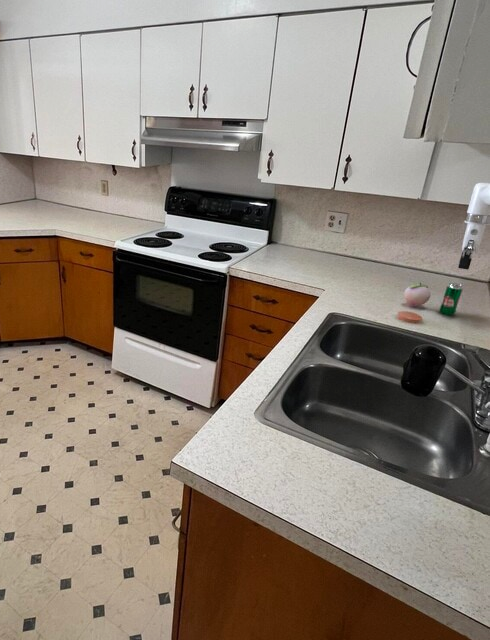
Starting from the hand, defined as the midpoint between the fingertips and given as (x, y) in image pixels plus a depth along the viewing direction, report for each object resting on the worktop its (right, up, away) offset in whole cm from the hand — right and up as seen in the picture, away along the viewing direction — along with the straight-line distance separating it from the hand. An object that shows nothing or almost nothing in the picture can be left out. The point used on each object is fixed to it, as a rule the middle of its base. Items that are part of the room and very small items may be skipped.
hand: (463, 265), depth 156 cm
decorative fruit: (-10, -15, +14) cm, 23 cm away
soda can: (-1, -18, +8) cm, 20 cm away
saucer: (-19, -20, +1) cm, 28 cm away
